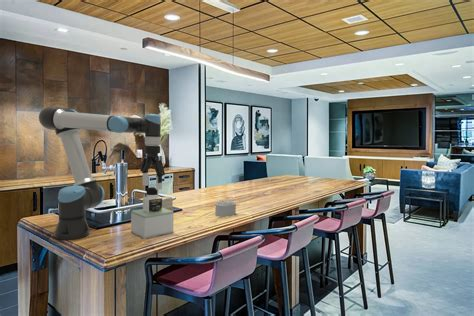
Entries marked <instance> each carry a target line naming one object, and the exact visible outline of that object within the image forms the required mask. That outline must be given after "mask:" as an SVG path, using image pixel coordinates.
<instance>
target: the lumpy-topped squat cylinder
mask: <svg viewBox="0 0 474 316" xmlns="http://www.w3.org/2000/svg"><path fill="white" fill-rule="evenodd" d="M236 205H237V204H236V203H235V202H234V201H233V200H228V199H226V200H222V199H221V200H219V201H218V202H216V203H215V211H214V212H215V217H218V216H219V217H220V218H224V217H225V218H227V217H226V216H229V217H233V216H232V215H234V216H236V215H235V214H237V212H236V209H237V208H236V207H237V206H236ZM219 217H218V218H219Z"/></svg>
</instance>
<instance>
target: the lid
mask: <svg viewBox="0 0 474 316" xmlns="http://www.w3.org/2000/svg"><path fill="white" fill-rule="evenodd" d="M131 213H133V214H135V215H138V216H140V217H142V218H150V217H156V216H162V215H168V214H173V215H174V214H175V213H174V211H170V210H168V209H165V208H162V211H161V212H155V213H147V212H145V211H143V208H141V209H134V210H131ZM131 213H130V214H131Z"/></svg>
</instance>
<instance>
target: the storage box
mask: <svg viewBox="0 0 474 316" xmlns="http://www.w3.org/2000/svg"><path fill="white" fill-rule="evenodd" d="M130 216H131V217H130V218H131V219H130V233H132V234H134V235H136V236H137V237H140V238H142V239H143V240H145V239H147V240H148V239H152V238H155V237H160V236H161V237H162V236H165V234H166V235H169V234H174V213H173V214H168V215H162V216H156V217H150V218H142V217H140V216H138V215H135V214H133V213H130Z"/></svg>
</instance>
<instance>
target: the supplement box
mask: <svg viewBox="0 0 474 316" xmlns="http://www.w3.org/2000/svg"><path fill="white" fill-rule="evenodd" d="M161 198H162V208H165V209H168V210H170V211H173V209H174V208H173V204H174V202H173V199H174V198H173V197H172V196H163V197H161ZM173 212H174V211H173Z"/></svg>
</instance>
